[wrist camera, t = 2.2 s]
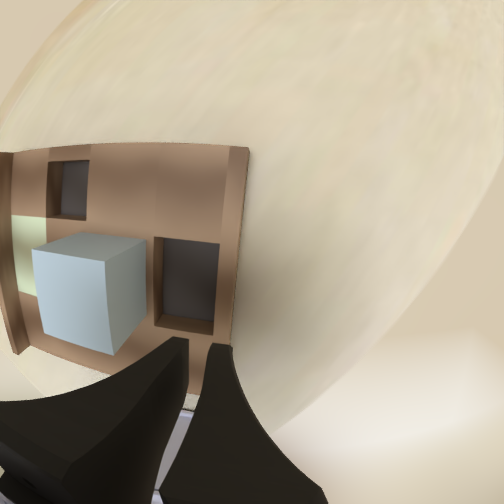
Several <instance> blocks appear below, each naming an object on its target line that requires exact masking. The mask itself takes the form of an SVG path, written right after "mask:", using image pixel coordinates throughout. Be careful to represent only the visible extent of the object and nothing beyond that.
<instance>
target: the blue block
mask: <svg viewBox="0 0 504 504" xmlns="http://www.w3.org/2000/svg"><path fill="white" fill-rule="evenodd" d="M32 261H33V270H34V279H35V286H36V293H37V299H38V305H39V310H40V315H41V320H42V325H43V329H44V333H45V334H48V335H51V336H53V337H56V338H59V339H62V340H65V341H68V342H70V343H73V344H76V345H80V346H83V347H86V348H89V349H92V350H96V351H99V352H103V353H106V354H110V355H113V356H114V355H115V353H116V352H117V351H118V350H119V348H120V347H121V346H122V345H123V343H124V342H125V341H126V340H127V338H128V337H129V336H130V335H131V333H132V332H133V331H134V330H135V329H136V327H137V326H138V325H139V324H140V322H141V321H142V320H143V319H144V318H145V316H146V315H147V309H146V239H137V238H128V237H120V236H111V235H102V234H93V233H85V232H80V233H76V234H73V235H70V236H67V237H64V238H61V239H59V240H56V241H53V242H50V243H47V244H44V245H41V246H39V247H36V248H33V249H32Z"/></svg>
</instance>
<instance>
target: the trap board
mask: <svg viewBox="0 0 504 504" xmlns="http://www.w3.org/2000/svg"><path fill="white" fill-rule="evenodd" d="M249 153H250V151H249V148H248V147H237V146H224V145H210V144H191V143H105V144H87V145H73V146H62V147H52V148H43V149H35V150H28V151H21V152H15V153H8V152H0V306H1V310H2V315H3V319H4V323H5V327H6V330H7V334H8V337H9V341H10V344H11V347H12V350H13V353H15V354H17V355H19V354H20V353H21V352H23V351H24V350H25V349H26V348H27V347H29V346H30V345H31V346H33V347H36V348H38V349H40V350H43V351H45V352H47V353H50V354H52V355H55V356H57V357H60V358H63V359H65V360H68V361H71V362H73V363H76V364H79V365H82V366H85V367H88V368H91V369H94V370H97V371H100V372H103V373H107V374H110V375H114V374H116V373H117V372H119V371H121V370H123V369H124V368H126V367H128V366H129V365H131V364H133V363H135V362H136V361H138V360H139V359H141V358H142V357H144V356H145V355H147V354H148V353H150V352H151V351H152V350H154V349H155V348H157V347H158V346H159V345H161V344H162V343H164V342H165V341H166V340H168V339H169V338H171V337H172V336H175V337H181V338H187V339H189V385H188V389H187V393H190V394H196V395H200V393H201V389H202V384H203V378H204V372H205V365H206V359H207V354H208V350H209V348H210V346H211V344H212V342H213V343H220V344H228V345H230V338H231V327H232V316H233V306H234V295H235V285H236V275H237V265H238V255H239V245H240V236H241V226H242V217H243V207H244V198H245V189H246V180H247V171H248V162H249ZM80 232H85V233H93V234H102V235H111V236H120V237H128V238H137V239H146V309H147V315H146V316H145V318H144V319H143V320H142V321H141V322H140V324H139V325H138V326H137V327H136V329H135V330H134V331H133V332H132V333H131V335H130V336H129V337H128V338H127V340H126V341H125V342H124V343H123V345H122V346H121V347H120V348H119V350H118V351H117V352H116V353H115V355H114V356H113V355H110V354H106V353H103V352H99V351H96V350H92V349H89V348H86V347H83V346H80V345H76V344H73V343H70V342H68V341H65V340H62V339H59V338H56V337H53V336H51V335H48V334H45V333H44V329H43V325H42V320H41V315H40V310H39V305H38V299H37V293H36V286H35V279H34V270H33V261H32V249H33V248H36V247H39V246H41V245H44V244H47V243H50V242H53V241H56V240H59V239H61V238H64V237H67V236H70V235H73V234H76V233H80Z"/></svg>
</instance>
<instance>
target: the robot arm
mask: <svg viewBox="0 0 504 504" xmlns="http://www.w3.org/2000/svg"><path fill="white" fill-rule="evenodd" d="M232 351H233V348H232V347H231V345H228V344H220V343H213V342H212V344H211V346H210V348H209V350H208V354H207V359H206V365H205V372H204V378H203V384H202V389H201V393H200V397H199V400H198V403H197V406H196V408H195V411H194V412H191V411H185V410H182V407H183V405H184V401H185V397H186V393H187V389H188V385H189V339H187V338H181V337H175V336H172V337H171V338H169V339H168V340H166V341H165V342H164V343H162V344H161V345H159V346H158V347H157V348H155V349H154V350H152V351H151V352H150V353H148V354H147V355H145V356H144V357H142V358H141V359H139V360H138V361H136V362H135V363H133V364H131V365H129V366H128V367H126V368H124V369H123V370H121V371H119V372H117V373H116V374H114V375H112V376H110V377H108V378H106V379H103V380H101V381H99V382H96V383H94V384H92V385H89V386H86V387H83V388H80V389H77V390H74V391H71V392H67V393H64V394H60V395H55V396H51V397H46V398H40V399H33V400H21V401H0V466H1V467H2V468H3V469H4V471H5V472H4V473H3V475H2V476H1V478H0V504H328V501H327V499H326V497H325V495H324V492H323V490H322V488H321V487H320V486H318V485H317V484H316V483H314V482H313V481H312V480H311V479H309V478H308V477H307V476H306V475H305V474H304V473H303V472H301V471H300V470H299V469H298V468H297V467H296V466H295V465H294V464H293V463H292V462H291V461H290V460H289V459H288V458H287V457H286V456H285V455H284V454H283V453H282V451H281V450H280V449H279V448H278V446H277V445H276V444H275V443H274V442H273V440H272V439H271V438H270V437H269V435H268V434H267V433H266V431H265V430H264V428H263V427H262V425H261V424H260V422H259V421H258V419H257V418H256V416H255V414H254V413H253V411H252V409H251V407H250V405H249V403H248V401H247V399H246V397H245V395H244V392H243V390H242V388H241V385H240V382H239V379H238V376H237V373H236V370H235V366H234V362H233V355H232Z"/></svg>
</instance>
